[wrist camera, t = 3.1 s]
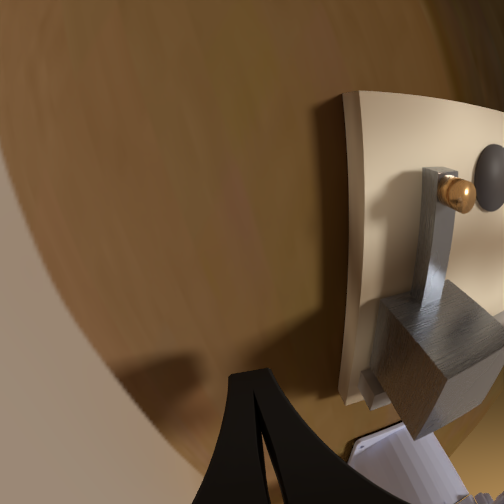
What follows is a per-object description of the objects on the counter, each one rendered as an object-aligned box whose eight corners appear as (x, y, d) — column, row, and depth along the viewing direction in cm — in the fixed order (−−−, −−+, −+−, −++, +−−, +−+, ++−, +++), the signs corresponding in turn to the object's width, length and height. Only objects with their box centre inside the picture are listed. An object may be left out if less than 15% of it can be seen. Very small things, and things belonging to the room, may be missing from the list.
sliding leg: (431, 342, 12) (481, 403, 8) (369, 365, 12) (414, 441, 8) (462, 165, 9) (556, 199, 5) (387, 167, 8) (497, 209, 4)
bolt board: (514, 313, 16) (535, 332, 13) (337, 389, 14) (356, 429, 12) (546, 127, 10) (578, 136, 7) (342, 93, 9) (388, 86, 6)
